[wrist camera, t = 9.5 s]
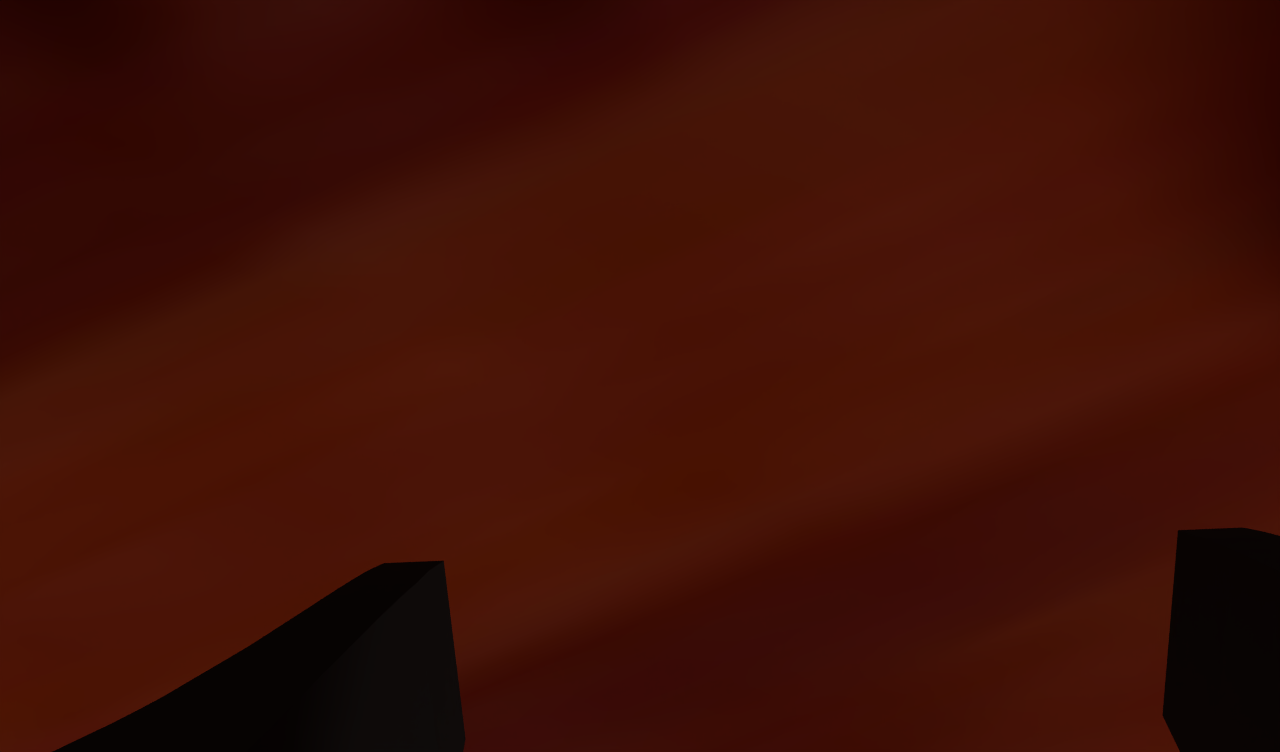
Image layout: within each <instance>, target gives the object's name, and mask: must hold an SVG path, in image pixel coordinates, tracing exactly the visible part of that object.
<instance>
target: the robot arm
mask: <svg viewBox="0 0 1280 752" xmlns="http://www.w3.org/2000/svg"><path fill="white" fill-rule="evenodd" d="M1163 717H1164V719H1165V721H1166V723H1167V726H1168V728H1169V730H1170V732H1171V734H1172V736H1173V738H1174V740H1175V742H1176V744H1177V746H1178V748H1179V750H1180V752H1280V536H1278V535H1274V534H1270V533H1266V532H1262V531H1257V530H1252V529H1248V528H1223V529H1199V530H1178V537H1177V549H1176V561H1175V573H1174V585H1173V597H1172V609H1171V621H1170V633H1169V645H1168V657H1167V669H1166V681H1165V693H1164V705H1163ZM464 743H465V731H464V723H463V715H462V707H461V699H460V691H459V682H458V674H457V666H456V658H455V650H454V642H453V633H452V625H451V617H450V609H449V601H448V593H447V585H446V576H445V568H444V561H427V562H403V563H384V564H381V565H379V566H377V567H375V568H372V569H370V570H369V571H367V572H365V573H363V574H361V575H360V576H358V577H356V578H355V579H353V580H351V581H350V582H348V583H346V584H345V585H343V586H342V587H340V588H338V589H337V590H335V591H334V592H332V593H331V594H329V595H328V596H326V597H324V598H323V599H321V600H320V601H318V602H317V603H315V604H314V605H312V606H311V607H309V608H308V609H306V610H304V611H303V612H301V613H300V614H298V615H297V616H295V617H294V618H292V619H290V620H289V621H287V622H286V623H284V624H283V625H281V626H280V627H278V628H276V629H275V630H273V631H272V632H270V633H269V634H267V635H266V636H264V637H263V638H261V639H259V640H258V641H256V642H255V643H253V644H252V645H250V646H248V647H247V648H245V649H243V650H242V651H240V652H238V653H237V654H235V655H233V656H231V657H230V658H228V659H226V660H225V661H223V662H221V663H220V664H218V665H216V666H214V667H213V668H211V669H209V670H208V671H206V672H204V673H203V674H201V675H199V676H197V677H196V678H194V679H192V680H191V681H189V682H187V683H186V684H184V685H182V686H181V687H179V688H177V689H175V690H174V691H172V692H170V693H169V694H167V695H165V696H163V697H161V698H160V699H158V700H156V701H154V702H152V703H150V704H149V705H147V706H145V707H143V708H141V709H139V710H137V711H135V712H133V713H131V714H129V715H127V716H125V717H124V718H122V719H120V720H118V721H116V722H114V723H112V724H110V725H108V726H106V727H103V728H101V729H99V730H97V731H95V732H93V733H91V734H89V735H87V736H85V737H82V738H80V739H78V740H76V741H74V742H72V743H70V744H68V745H66V746H64V747H61V748H59V749H57V750H55V751H53V752H463V749H464Z"/></svg>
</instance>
